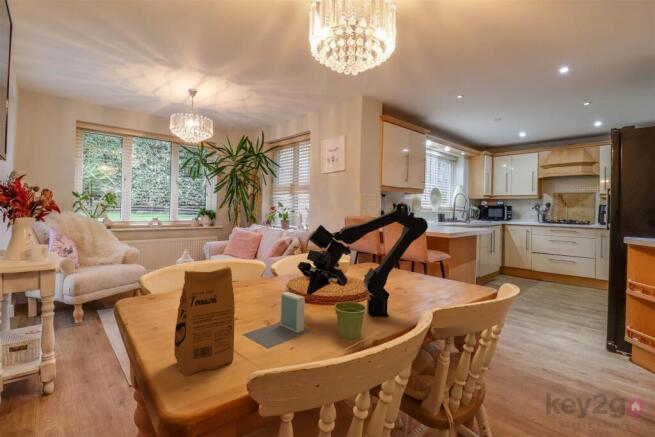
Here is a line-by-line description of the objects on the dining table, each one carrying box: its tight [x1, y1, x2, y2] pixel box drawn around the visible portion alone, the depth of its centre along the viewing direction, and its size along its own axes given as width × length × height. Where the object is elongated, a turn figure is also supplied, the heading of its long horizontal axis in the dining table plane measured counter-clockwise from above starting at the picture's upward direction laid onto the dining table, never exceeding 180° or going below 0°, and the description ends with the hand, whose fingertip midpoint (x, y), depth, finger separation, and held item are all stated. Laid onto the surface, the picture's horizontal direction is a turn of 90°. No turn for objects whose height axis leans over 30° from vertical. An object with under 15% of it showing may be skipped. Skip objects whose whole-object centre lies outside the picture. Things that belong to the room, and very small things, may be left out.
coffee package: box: [173, 266, 236, 377], centre depth 70 cm, size 10×12×22 cm
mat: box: [242, 321, 312, 349], centre depth 88 cm, size 16×12×1 cm
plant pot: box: [333, 301, 367, 340], centre depth 88 cm, size 9×9×9 cm
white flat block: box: [279, 291, 306, 333], centre depth 92 cm, size 3×8×10 cm, turn 48°
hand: (308, 294), depth 97 cm, fingers closed
